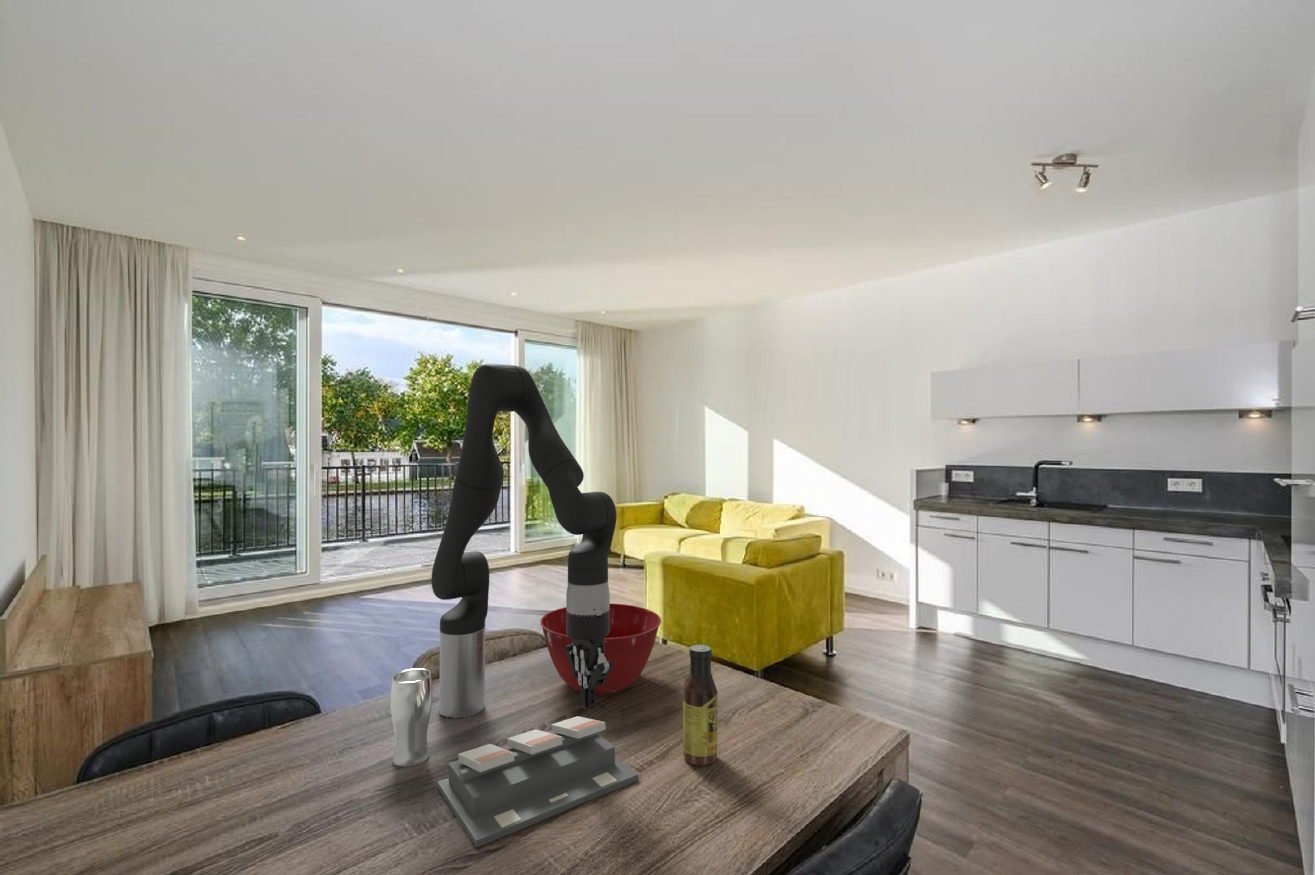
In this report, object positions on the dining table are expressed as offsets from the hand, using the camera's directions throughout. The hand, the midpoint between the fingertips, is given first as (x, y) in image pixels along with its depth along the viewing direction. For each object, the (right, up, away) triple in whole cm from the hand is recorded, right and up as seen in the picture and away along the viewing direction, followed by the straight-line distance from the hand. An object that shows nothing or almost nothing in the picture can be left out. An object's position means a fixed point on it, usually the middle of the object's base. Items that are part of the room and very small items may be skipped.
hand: (588, 707), depth 103 cm
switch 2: (-9, -5, -2) cm, 10 cm away
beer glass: (-32, -11, +4) cm, 35 cm away
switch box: (-8, -11, -4) cm, 14 cm away
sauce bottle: (+20, -12, +5) cm, 23 cm away
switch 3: (-2, -5, +3) cm, 6 cm away
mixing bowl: (-1, -12, +37) cm, 39 cm away
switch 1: (-16, -5, -7) cm, 18 cm away
